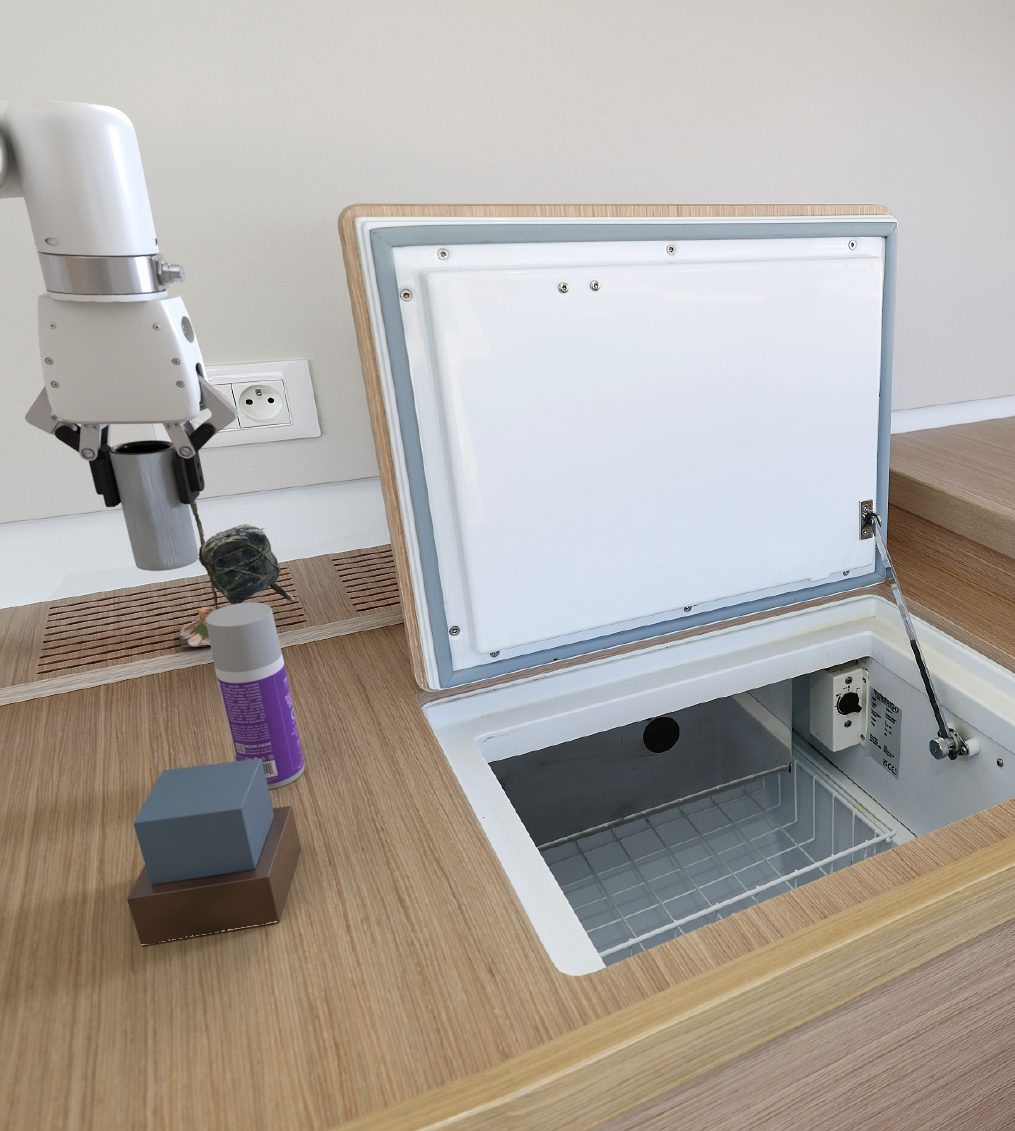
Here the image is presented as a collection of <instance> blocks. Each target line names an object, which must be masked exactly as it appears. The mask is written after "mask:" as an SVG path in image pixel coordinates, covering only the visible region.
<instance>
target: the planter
mask: <svg viewBox="0 0 1015 1131" xmlns="http://www.w3.org/2000/svg"><path fill="white" fill-rule="evenodd" d="M175 450H176V449H175V447H174V445H173V443H172V441H169V440H159V439H150V440H149V439H145V440H136V441H135V440H134V441H128V442H123V443H119V444H116V445H113V446H112V447H111V448H110V450H109V453H110V458H111V462H112V466H113V470H114V475H115V479H116V483H117V488H118V492H119V496H120V500H121V503H120V505H121V508H122V509H121V510H122V512H123V517H124V522H125V526H126V530H127V534H128V538H129V542H130V547H131V552H132V555H133V560H134V563H135V566H136V568H138V569H139V570H143V571H148V572H161V571H162V572H163V571H171V570H177V569H181V568H184V567H187V566H190V565H193V564H194V563H196V562H197V561H199V548H198V544H197V540H196V536H195V530H194V526H193V520H192V516H191V511H190V504H183V503H181V502H180V499H179V494H178V489H177V485H176V480H175V475H174V470H173V465H172V460H173V459H174V458H175V457H176V453H175Z"/></svg>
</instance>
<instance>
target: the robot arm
mask: <svg viewBox="0 0 1015 1131" xmlns="http://www.w3.org/2000/svg"><path fill="white" fill-rule="evenodd" d="M140 151H141V150H140V146H139V141H138V137H137V133H136V129H135V127H134V124H133V122H132V121H131V119H130V118H129V117H128V116H127V114H126V113H124V112H122V110H120V109H118V108H115V107H113V106H109V105H104V104H98V103H90V102H83V101H73V100H61V99H48V98H47V99H44V98H20V99H17V100H14V101H10V100H3V99H0V199H14V198H15V199H17V198H23V200H24V203H25V207H26V211H27V215H28V219H29V223H30V228H31V231H32V236H33V240H34V244H35V249H36V251H37V252H36V253H37V256H38V261H39V265H40V270H41V272H42V278H43V282H44V286H45V290H46V292H44V293H41V294H38V296H37V334H38V337H37V338H38V347H39V355H40V357H39V358H40V362H41V363H40V364H41V369H42V376H43V381H44V387H43V388H42V390H40V392H39V394H38V396H37V397H36V399H35V401H34V402H33V403H32V404H31V405H30V406H31V407H29V409H28V410H27V412H26V414H25V415H24V419H25V422H26V423H28V424H29V425H31V426H33V427H36V428H37V429H39V430H41V431H44V432H45V433H47V434H49V435H52V436H54V437H55V438H56V439H57V440H58V441H60V442H62V443H63V444H65V445H66V446H68V447H69V448H71V449H72V450H74V451H75V452H77V453H78V454H79V456H80V458H81V459H83V460H84V461H87V462H88V464H89V468H90V473H91V477H92V481H93V486H94V489H95V492H96V494H97V495H98V496H103V501H104V505H105V507H106V508H116V507H117V506H119V505H121V500H120V496H119V492H118V488H117V483H116V479H115V475H114V470H113V466H112V462H111V458H110V453H109V450H110V448H112V447H111V446H110V442H111V430H112V428H111V427H112V425H146V424H147V425H148V424H149V425H151V424H153V425H154V424H155V425H157V424H162V425H163V428H164V429H165V431H166V434H167V435H168V437H169V440H170V442H172V443H173V445H174V447H175V449H176V450H175V453H176V457H175V458H174V459H173V460H172V465H173V470H174V475H175V480H176V485H177V489H178V494H179V499H180V502H181V503H183V504H188V505H190V504H192V503H193V502H194V500H195V501H196V499H197V498H198V497H199V496H200V494H201V492H203V491H204V490H205V484H206V483H205V477H204V473H203V467H202V462H201V458H200V452H199V451H200V450H201V449H202V448H203V447H204V446H205V445H206V444H207V443H208V442H209V441H210V440H211V439H212V438H213V437H214V436H215V435H216V434H218V433H219V432H221V431H222V430H223V429H225V428H226V427H228V426H230V424H231V423H233V422H235V420H236V419H237V418H238V417H239V414H240V413H239V411H238V409H237V408H236V407H235V406H233V404H232V403H231V402H230V401H228V400H227V399H226V398H225V397H224V396H223V395H222V394H221V393H220V392H219V391H218V390H217V389H216V388H215V387H214V386H213V385H212V384H210V382H209V377H208V373H207V370H206V366H205V363H204V359H203V355H202V352H201V349H200V345H199V342H198V338H197V335H196V332H195V329H194V326H193V324H192V320H191V318H190V315H189V312H188V310H187V307H186V305H185V303H184V301H183V298H182V297H181V294H177V293H168V289H169V288H170V285H171V284H174V283H175V282H176V283H177V282H180V283H184V282H185V281H186V272H185V268H184V266H183V265H182V264H177V263H175V264H172V263H171V261H170V262H169V261H166V259H164V255H163V253H160V249H159V243H158V237H157V235H156V234H157V233H156V229H155V223H154V219H153V213H152V207H151V202H150V197H149V193H148V187H147V182H146V177H145V172H144V168H143V162H142V157H141V152H140ZM207 409H208V411H209V412H210V413H211V416H210V417H208V418H207V419H206V420H204V421H203V422H201V424H200V425H199V426H197V427H196V426H195V424H194V422H193V420H194V419H196V418H197V417H199V415H200V412H201V411H205V410H207Z"/></svg>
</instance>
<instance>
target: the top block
mask: <svg viewBox="0 0 1015 1131" xmlns="http://www.w3.org/2000/svg"><path fill="white" fill-rule="evenodd" d="M272 804H273V803H272V799H271V794H270V790H268V785H267V780H266V776H265V771H264V766H263V762H262V759H261V758H260V759H251V760H243V761H236V760H235V761H228V762H227V761H226V762H218V763H211V764H203V765H195V766H186V767H178V768H169V769H163V770H162V771H161V773H160V775H159V776H158V779H157V780H156V782H155V784H154V785H153V788H152V789H151V790H150V793H149V794H148V796H147V797H146V800H145V802H143V805H142V807H141V808H140V810H139V812H138V814H137V815H136V817H135V819H134V821H133V827H134V831H135V835H136V837H137V842H138V844H139V848H140V852H141V856H142V859H143V862H144V865H145V866H146V869H147V873H148V876H149V880H150V883H151V885H155V884H162V883H168V882H175V881H181V880H188V879H194V878H201V877H207V876H214V875H220V874H227V873H233V872H240V871H247V870H253V869H255V868H256V865H257V862H258V859H259V857H260V854H261V851H262V848H263V845H264V843H265V840H266V837H267V834H268V831H269V828H270V826H271V823H272V820H273V817H274V813H273V808H274V807H273V805H272Z"/></svg>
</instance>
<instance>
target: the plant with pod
mask: <svg viewBox="0 0 1015 1131" xmlns="http://www.w3.org/2000/svg"><path fill="white" fill-rule="evenodd" d="M189 506H190V508H191V512H192V514H193V516H194V520H195V523H196V527H197V531H198V535H199V541H200V542H199V543H200V547H199V548H198V556H199V558H198V561H199V563H200V565H201V566H203V567H204V568H205V571H206V573H207V576H208V577H209V582H210V583H211V584H210V586H211V590H212V593H213V601H214V604H215V606H205V607H202V608H199V609H198V610H197V615H198V616H199V618H198V619H197V620H192V621H191V623H190V622H189V623H188V624H187V625H183V626H182V627H180V628H177V629H176V628H175V631H176V630H178V633H177V634H179V636H180V637H179V639H180V640H181V642H180V643H179V644H180V645H181V647H182V648H183V647H184V648H185V647H187V648H194V647H200V646H199V645H209V646H211V645H210V640H209V635H208V630H207V624H206V617H207V616H208V615H209V614H210V613H211V612H213V611H215V610H217V609H220V608H222V607H226V606H227V605H218V594H217V591H218V592H219V593H221V594H222V595H223V596H224V598H225V599H226V600H227V601H228V602H229V604H230V605H234V604H239V603H244V602H245V601H247V600H249V599H250V598H251V597H253V596H254V595H255V594H257V593H261V592H264V591H265V590H267V589H268V588H269V587H270V589H271V590H273V591H274V592H276V593H277V594H278V595H280V596H281V597H283V598H284V599H286V600H287V601H289V602H292V603H294V602H295V598H294V597H293V595H291V594H289V593H287V591H286V590H285V589H284V588H282V587H281V586H280V585H278V584H277V581H278V579H279V578H280V576H281V571H282V570H281V566H279V563H278V562H279V561H278V559H277V557H276V554H274V552H273V551H272V544H271V543H270V540H269V538H268V536H267V534H266V533H265V532H264V531H263V530H264V529H265V527H263V528H260V527H257V526H254V525H251V524H248V523H247V524H246V523H244V524H243V523H242V524H239V525H237V526H234V527H231V528H229V529H226V530H224V531H219V532H217V533H215V534H214V535H212V536H210V537H209V538H208V539H207V540H205V538H204V537H205V533H204V529H203V525H202V521H201V519H200V515H199V513H198V504H197V502H196V499H195V500H194V502H193V503H192V504H189ZM191 645H192V646H191ZM193 645H197V646H193Z"/></svg>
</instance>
